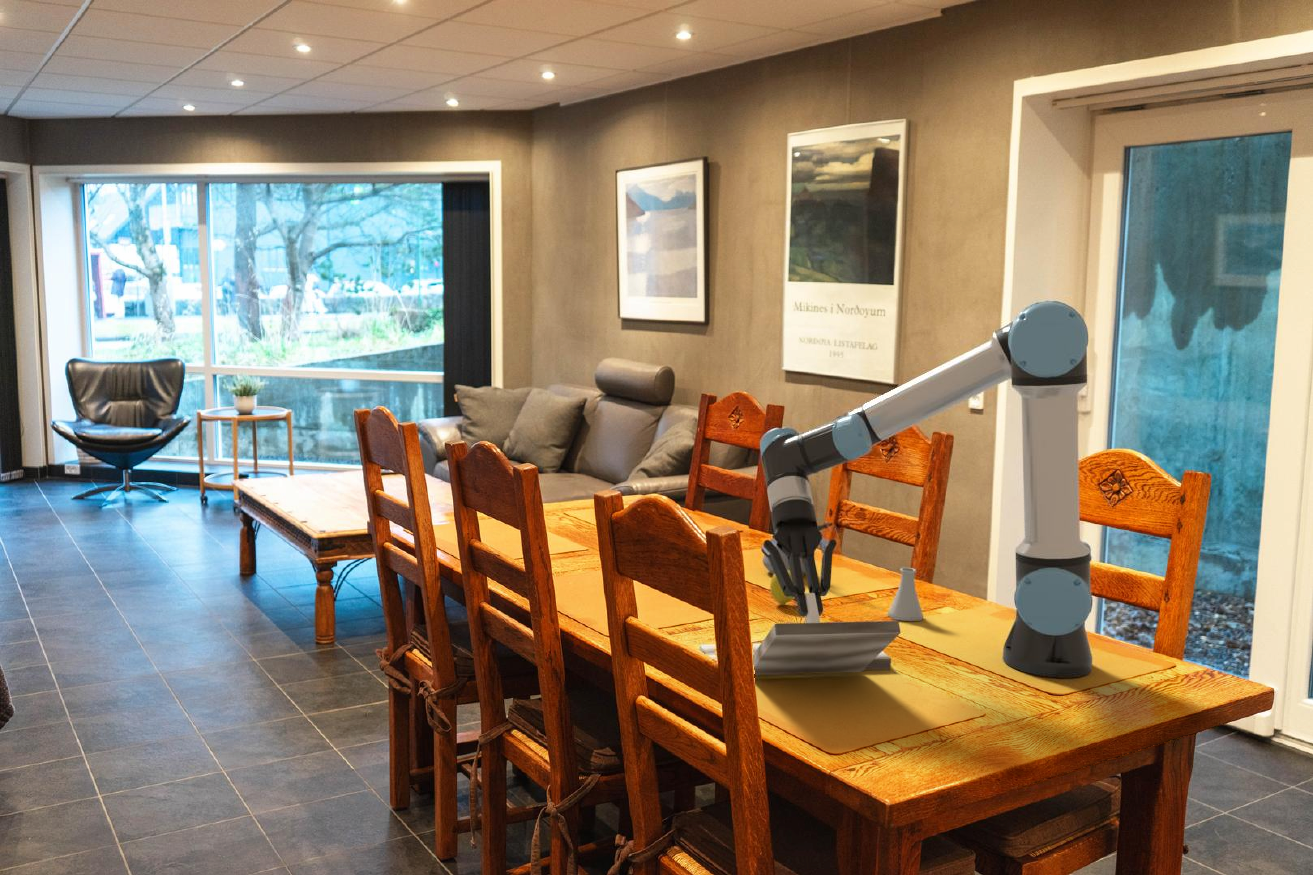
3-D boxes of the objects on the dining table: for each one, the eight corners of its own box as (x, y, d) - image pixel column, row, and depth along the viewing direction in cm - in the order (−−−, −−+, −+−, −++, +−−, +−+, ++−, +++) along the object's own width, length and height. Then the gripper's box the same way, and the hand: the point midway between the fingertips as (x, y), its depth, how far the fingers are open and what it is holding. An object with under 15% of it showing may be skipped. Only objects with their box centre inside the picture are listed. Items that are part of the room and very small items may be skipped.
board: (699, 655, 198) (699, 644, 197) (870, 650, 203) (870, 640, 203) (711, 674, 188) (711, 663, 188) (890, 669, 193) (891, 658, 193)
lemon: (797, 609, 228) (799, 571, 227) (770, 608, 228) (772, 570, 227) (794, 601, 233) (796, 564, 232) (768, 600, 233) (770, 564, 232)
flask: (921, 613, 228) (924, 565, 227) (925, 623, 221) (928, 574, 220) (885, 610, 229) (888, 563, 227) (888, 621, 222) (891, 572, 220)
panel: (748, 674, 187) (747, 663, 188) (861, 671, 190) (859, 660, 191) (777, 635, 170) (775, 623, 171) (900, 632, 173) (898, 620, 174)
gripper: (822, 520, 195) (847, 642, 182) (751, 520, 193) (770, 644, 180) (833, 496, 189) (860, 621, 176) (759, 497, 187) (780, 623, 174)
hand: (814, 632), depth 178 cm, fingers closed
